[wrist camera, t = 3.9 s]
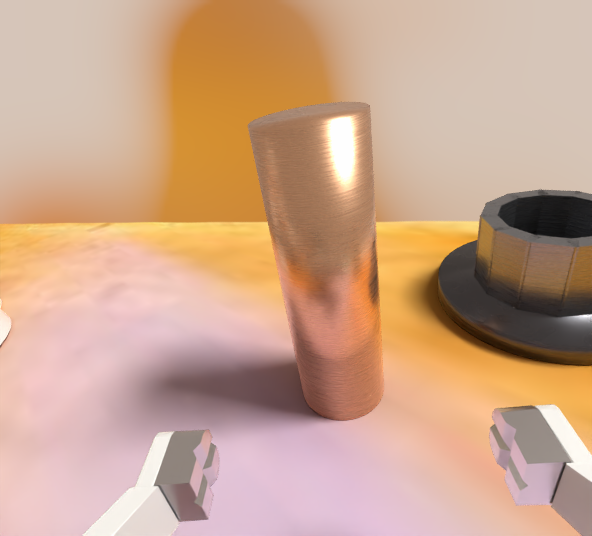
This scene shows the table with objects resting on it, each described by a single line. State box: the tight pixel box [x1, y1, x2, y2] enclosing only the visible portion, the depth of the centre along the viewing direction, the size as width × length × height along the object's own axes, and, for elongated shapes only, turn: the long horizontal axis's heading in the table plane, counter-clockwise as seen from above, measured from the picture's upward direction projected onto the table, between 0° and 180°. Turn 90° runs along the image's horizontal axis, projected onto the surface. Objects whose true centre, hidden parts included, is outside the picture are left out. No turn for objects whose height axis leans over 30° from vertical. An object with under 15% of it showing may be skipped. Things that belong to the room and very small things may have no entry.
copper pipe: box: [248, 102, 384, 420], centre depth 20 cm, size 5×5×16 cm
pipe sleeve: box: [438, 190, 592, 365], centre depth 26 cm, size 14×14×6 cm
